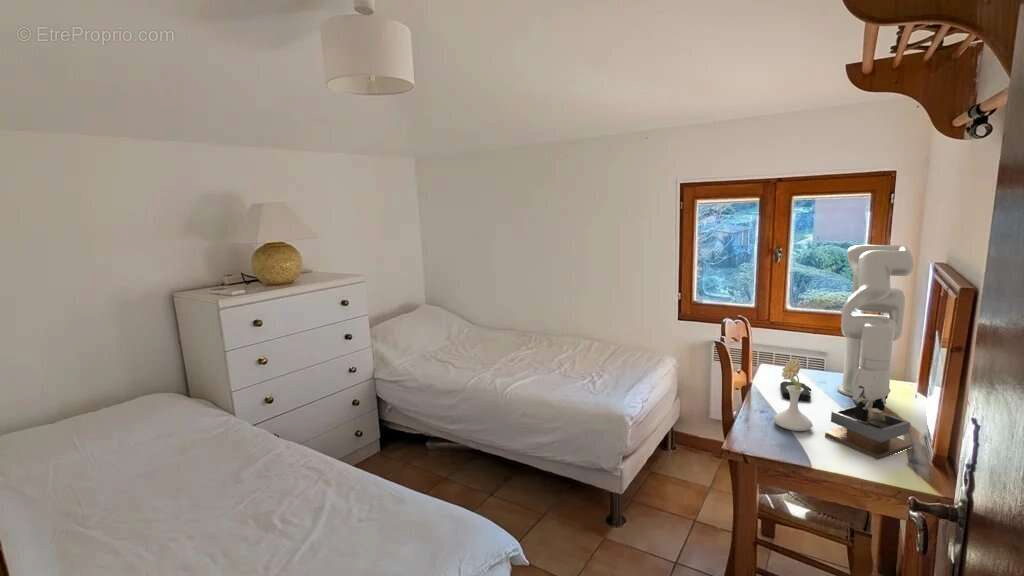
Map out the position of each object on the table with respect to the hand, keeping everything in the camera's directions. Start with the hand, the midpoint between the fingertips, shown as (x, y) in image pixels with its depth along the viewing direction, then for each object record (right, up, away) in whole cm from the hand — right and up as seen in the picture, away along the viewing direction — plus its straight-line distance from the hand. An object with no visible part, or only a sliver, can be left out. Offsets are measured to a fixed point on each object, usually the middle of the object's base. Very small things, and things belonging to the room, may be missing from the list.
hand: (869, 417), depth 148 cm
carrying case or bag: (+1, -2, +40) cm, 40 cm away
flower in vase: (-17, -7, +13) cm, 22 cm away
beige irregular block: (+1, -2, +1) cm, 2 cm away
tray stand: (0, -8, +1) cm, 8 cm away
